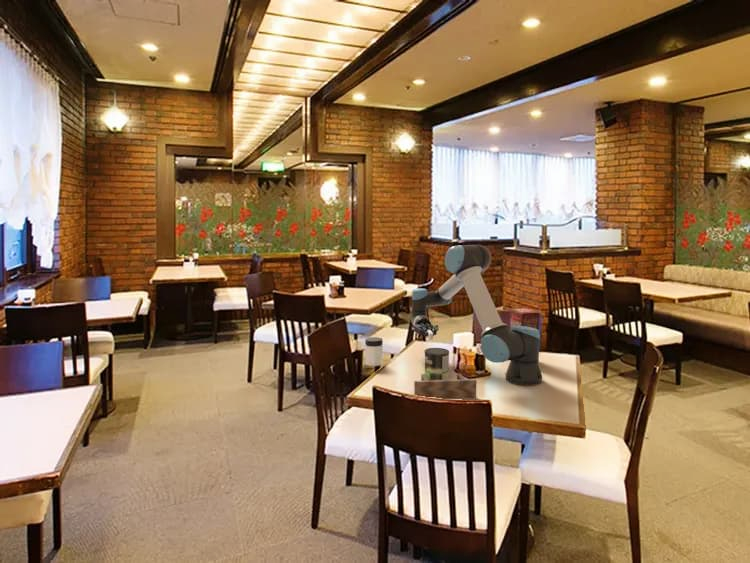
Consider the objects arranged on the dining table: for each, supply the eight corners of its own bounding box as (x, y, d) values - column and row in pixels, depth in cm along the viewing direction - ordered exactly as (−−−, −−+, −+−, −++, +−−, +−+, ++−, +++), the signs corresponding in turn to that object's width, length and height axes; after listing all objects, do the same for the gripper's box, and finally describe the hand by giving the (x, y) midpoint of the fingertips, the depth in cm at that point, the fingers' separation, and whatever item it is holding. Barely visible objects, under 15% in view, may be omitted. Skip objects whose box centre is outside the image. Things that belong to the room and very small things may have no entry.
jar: (370, 367, 246) (370, 342, 244) (361, 363, 252) (361, 338, 251) (386, 364, 250) (386, 339, 249) (377, 360, 257) (377, 336, 256)
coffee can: (430, 388, 216) (431, 355, 214) (420, 381, 226) (420, 348, 224) (453, 385, 220) (453, 352, 218) (441, 378, 229) (442, 346, 227)
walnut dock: (469, 389, 215) (470, 372, 214) (476, 397, 205) (476, 380, 204) (411, 391, 213) (411, 374, 212) (414, 399, 203) (415, 382, 202)
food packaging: (508, 357, 261) (509, 308, 257) (525, 356, 262) (527, 307, 259) (520, 365, 248) (522, 313, 244) (539, 364, 249) (541, 312, 246)
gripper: (435, 331, 256) (445, 344, 232) (408, 332, 255) (416, 345, 231) (435, 316, 255) (446, 327, 231) (409, 316, 254) (416, 328, 230)
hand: (431, 336), depth 231 cm, fingers closed
